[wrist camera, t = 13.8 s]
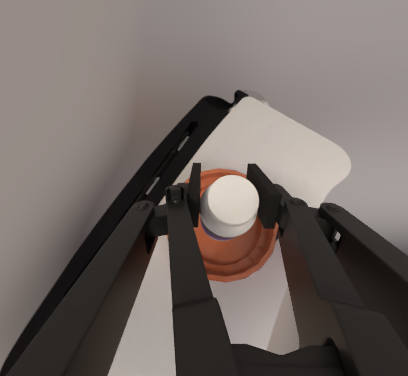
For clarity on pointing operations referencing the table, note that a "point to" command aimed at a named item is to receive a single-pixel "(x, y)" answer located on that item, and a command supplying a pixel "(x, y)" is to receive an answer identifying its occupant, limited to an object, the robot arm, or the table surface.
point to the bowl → (233, 243)
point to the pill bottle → (228, 207)
